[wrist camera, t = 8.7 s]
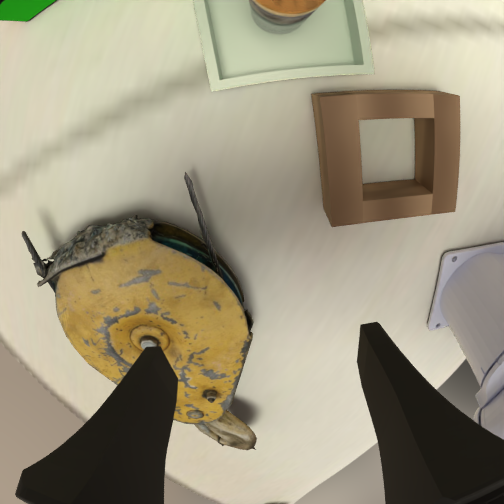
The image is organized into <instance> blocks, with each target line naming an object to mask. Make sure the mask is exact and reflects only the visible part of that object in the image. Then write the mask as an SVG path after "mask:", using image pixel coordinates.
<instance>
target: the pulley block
mask: <svg viewBox="0 0 504 504" xmlns="http://www.w3.org/2000/svg"><path fill="white" fill-rule="evenodd" d="M184 178H185V181H186V184H187V187H188V190H189V194H190V197H191V201H192V203H193V206H194V208H195V210H196V213H197V216H198V221H199V225H200V232H201V235H202V238H203V240H204V241H203V240H201V239H200V238H198V237H197V236H195V235H194V234H192V233H190V232H189V231H187V230H184V229H182V228H180V227H177V226H175V225H172V224H170V223H167V222H158V221H154V220H151V219H139V220H138V219H137V215H134V216H133V218H129V219H130V220H123V221H122V222H120V223H118V224H114V225H112V224H109V223H108V224H107V226H103V227H102V226H88V228H87V229H86V230H85V231H81V232H79V231H78V233H77V236H76V237H75V238H74V239H73V240H72V241H70V242H68V243H66V244H64V245H63V246H62V247H61V249H58V250H56V251H55V252H53V254H52V255H51V257H49V258H47V259H43V260H41V259H40V257H39V255H38V253H37V252H36V250H35V248H34V246H33V245H32V243H31V241H30V239H29V238H28V236H27V234H26V232H25V231H22V237H23V239H24V241H25V243H26V245H27V247H28V250H29V252H30V253H31V255H32V260H33V261H35V262H36V263H34V266H35V268H36V271H37V274H38V275H40V276H41V277H43V278H44V279H43V280H42V281H39V282H38V284H37V285H38V287H39V286H42V285H43V284H45V283H46V282H48V283H49V284H50V286H51V288H52V289H53V291H54V292H55V297H56V309H57V315H58V318H59V320H60V323H61V325H62V327H63V330H64V332H65V334H66V337H67V338H68V339H69V341H70V342H71V344H72V345H73V347H74V348H75V349H76V350H77V351H78V353H79V354H80V355H81V356H82V357H83V358H84V359H85V360H86V362H87V363H88V364H89V365H91V366H92V367H93V368H95V369H96V370H97V371H99V372H100V373H101V374H103V375H104V376H105V377H107V378H108V379H109V380H111V381H112V382H114V383H115V384H117V385H118V384H119V383H120V382H121V380H122V379H123V378H124V376H125V375H126V373H127V372H128V371H129V369H130V368H131V367H132V365H133V364H134V362H135V361H136V360H137V358H138V357H139V356H140V354H141V353H142V352H143V350H144V349H145V348H146V347H152V346H161V348H162V350H163V352H164V354H165V356H166V357H167V359H168V361H169V363H170V365H171V367H172V368H173V370H174V372H175V374H176V376H177V377H178V391H177V403H176V408H175V413H174V418H173V420H176V421H179V422H182V423H186V424H194V425H195V426H196V427H197V428H198V429H199V430H200V431H201V432H203V433H204V434H206V435H207V436H209V437H211V438H212V439H214V440H216V441H217V442H218V443H219V444H221V445H222V446H224V445H227V446H231V447H234V448H238V449H242V450H249V449H255V448H254V446H255V443H256V440H257V438H256V436H255V434H254V432H253V431H252V430H251V429H250V427H248V426H247V425H246V424H245V423H244V422H242V421H241V420H240V419H238V418H237V417H236V416H234V415H233V414H231V413H230V412H229V411H227V408H229V407H230V406H231V404H232V402H233V398H234V395H235V392H236V388H237V385H238V382H239V379H240V376H241V373H242V369H243V366H244V363H245V360H246V357H247V354H248V351H249V348H250V345H251V341H252V338H253V333H252V332H250V331H251V328H252V325H253V319H252V317H251V316H250V314H249V312H248V310H246V311H244V309H243V302H244V297H243V291H242V288H241V285H240V283H239V281H238V279H237V277H236V275H235V274H234V272H233V270H232V269H231V267H230V266H229V265H228V264H227V263H226V262H225V260H224V259H223V258H222V257H221V256H220V255H219V253H217V252H216V251H215V250H214V248H213V245H212V242H211V239H210V236H209V233H208V230H207V227H206V224H205V221H204V218H203V215H202V212H201V209H200V207H199V204H198V201H197V198H196V195H195V192H194V189H193V184H192V181H191V179H190V178H189V176H188V175H187V173H186V172H185V176H184ZM48 259H54V261H53V262H52V261H49V260H48ZM47 260H48V263H47V264H45V263H44V262H43V261H47ZM255 450H256V449H255Z"/></svg>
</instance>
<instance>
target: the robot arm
mask: <svg viewBox="0 0 504 504" xmlns="http://www.w3.org/2000/svg"><path fill="white" fill-rule="evenodd" d="M454 256H455V257H454ZM453 257H454V258H453ZM452 258H453V259H452ZM447 326H449V327H450V328H451V330H452V332H453V334H454V336H455V337H456V339H457V341H458V343H459V345H460V347H461V349H462V351H463V352H464V354H465V356H466V358H467V360H468V362H469V364H470V366H471V368H472V370H473V372H474V374H475V376H476V378H477V381H478V382H479V385H480V387H481V389H480V391H479V392H478V393H477V394H476V395H475V397H476V399H477V402H478V404H479V408H478V409H477V410H476V412H475V414H474V418H473V420H472V419H471V418H469V417H468V416H467V415H465V414H464V413H462V412H461V411H460V410H459V409H457V408H456V407H455V406H454V405H453V404H451V403H450V402H449V401H448V400H447V399H446V398H444V397H443V396H442V395H441V394H440V393H439V392H438V391H437V390H436V389H435V388H434V387H433V386H432V385H431V384H430V383H429V382H428V381H427V380H426V379H425V378H424V377H423V376H422V375H421V374H420V373H419V372H418V371H417V369H416V368H415V367H414V366H413V365H412V364H411V363H410V361H409V360H408V359H407V358H406V357H405V356H404V354H403V353H402V352H401V351H400V350H399V348H398V347H397V346H396V345H395V343H394V342H393V341H392V340H391V338H390V337H389V336H388V334H387V333H386V332H385V330H384V329H383V328H382V326H381V325H380V324H379V323H378V322H374V323H368V324H362V325H361V326H360V337H359V348H358V357H357V363H358V369H359V374H360V379H361V385H362V388H363V392H364V395H365V398H366V402H367V405H368V408H369V412H370V415H371V418H372V422H373V425H374V429H375V432H376V436H377V440H378V444H379V450H380V457H381V463H382V471H383V479H384V489H385V501H386V504H504V242H500V243H495V244H489V245H484V246H478V247H473V248H467V249H461V250H456V251H450V252H446V253H445V254H444V255H443V257H442V261H441V267H440V272H439V277H438V282H437V287H436V291H435V296H434V300H433V304H432V308H431V313H430V317H429V320H428V324H427V327H428V329H429V330H435V329H439V328H443V327H447ZM177 391H178V377H177V376H176V374H175V372H174V370H173V368H172V367H171V365H170V363H169V361H168V359H167V357H166V356H165V354H164V352H163V350H162V348H161V346H152V347H146V348H145V349H144V350H143V352H142V353H141V354H140V356H139V357H138V358H137V360H136V361H135V362H134V364H133V365H132V367H131V368H130V369H129V371H128V372H127V373H126V375H125V376H124V378H123V379H122V380H121V382H120V383H119V384H118V386H117V387H116V388H115V390H114V391H113V392H112V393H111V395H110V396H109V397H108V398H107V400H106V401H105V402H104V403H103V404H102V406H101V407H100V408H99V409H98V410H97V412H96V413H95V414H94V415H93V416H92V417H91V418H90V419H89V420H88V421H87V422H86V423H85V424H84V425H83V427H81V428H80V429H79V430H78V431H77V432H76V433H75V434H74V435H73V436H71V437H70V438H69V439H68V440H67V441H66V442H65V443H64V444H62V445H61V446H60V447H59V448H57V449H56V450H54V451H53V452H52V453H50V454H49V455H48V456H46V457H45V458H43V459H41V460H40V461H38V462H37V463H35V464H33V465H31V466H30V467H28V468H26V469H24V470H23V471H22V474H21V477H20V480H19V484H18V487H17V490H16V493H15V495H16V497H17V498H19V499H21V500H22V501H24V502H26V503H28V504H164V475H165V460H166V453H167V447H168V442H169V437H170V432H171V428H172V423H173V418H174V413H175V408H176V403H177Z"/></svg>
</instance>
